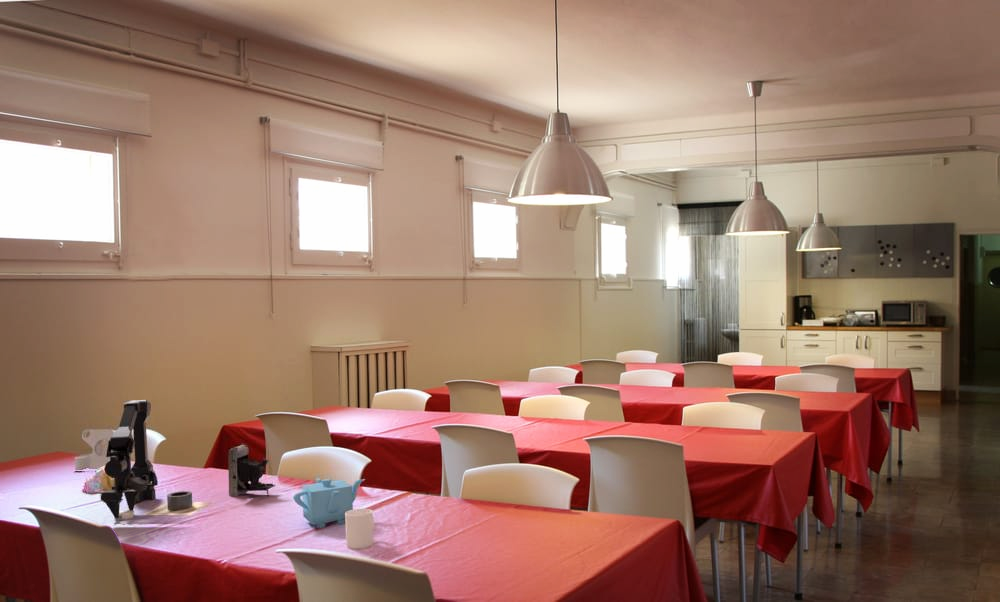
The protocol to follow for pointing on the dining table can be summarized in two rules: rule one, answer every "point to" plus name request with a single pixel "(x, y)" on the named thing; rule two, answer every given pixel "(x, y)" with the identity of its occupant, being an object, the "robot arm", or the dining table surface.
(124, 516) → the beige mottled stone
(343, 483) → the teakettle
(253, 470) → the vintage camera
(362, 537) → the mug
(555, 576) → the dining table surface
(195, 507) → the mount board
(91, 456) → the phone holder
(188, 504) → the ring
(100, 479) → the candy landscape model
